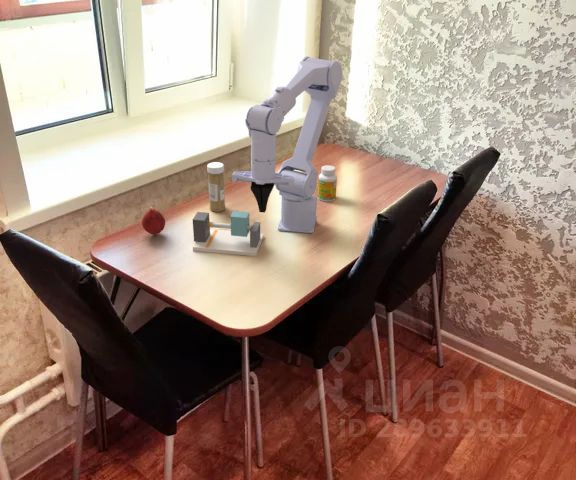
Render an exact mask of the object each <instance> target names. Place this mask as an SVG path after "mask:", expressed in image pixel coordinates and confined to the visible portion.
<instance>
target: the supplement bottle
mask: <svg viewBox="0 0 576 480" xmlns="http://www.w3.org/2000/svg"><path fill="white" fill-rule="evenodd" d="M320 168H321V170H320V172H321V173H319V174H318V179H317V181H318V182H317V200H319V201H320V202H326V203H329V202H333V201H335V200H336V195H337V185H338V184H337V183H338V175H336V167H335V166H333V165H326V164H325V165H322V166H321V167H320Z"/></svg>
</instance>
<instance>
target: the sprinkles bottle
mask: <svg viewBox="0 0 576 480" xmlns="http://www.w3.org/2000/svg"><path fill="white" fill-rule="evenodd" d="M206 168H207V169H206V170H207V171H206V172H207V174H208V175H207V178H208V181H207V182H208V196H209V210H210V211H211V212H218V213H219V212H223V211H224V210H225V209H226V201H225V199H226V197H225V196H226V195H225V193H226V192H225V181H224V180H225V178H224V176H225V175H224V173H225V164H224V163H222V162H219V161H218V162H217V161H215V162H210V163H207V166H206Z"/></svg>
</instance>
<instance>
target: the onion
mask: <svg viewBox="0 0 576 480" xmlns="http://www.w3.org/2000/svg"><path fill="white" fill-rule="evenodd" d="M141 225H142V228H143V230H144V231H145V232H147V233H148V234H150V235H152V236H157V235H158V234H160V233H161V232H162V231H163V230H164V228H165V226H166V218H165V216H164V215H163V214H162V213H161V212H160V210H157V209H155V208H154V207H153V206H150V207H149V210H147V211H146V213H144V214H143V216H142V219H141Z"/></svg>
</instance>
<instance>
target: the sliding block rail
mask: <svg viewBox="0 0 576 480" xmlns="http://www.w3.org/2000/svg"><path fill="white" fill-rule="evenodd" d="M215 228H216V229H215ZM192 229H193V230H192V231H193V242H195V243H194V244H193V246H192V251H194V252H203V253H205V252H206V253H214V254H216V253H217V254H225V255H239V256H246V257H247V256H248V257H257V255H258V253H259V251H260V248H261V245H262V243H263V241H264V237H265V235H264V233H261V222H260V221H253V223H252V225H249V226H247V230H248V231H249V233H248V235H247V237H241V236H231V223H223V222H222V223H221V222H213V221H210V212H205V211H204V212H203V211H197V212H196V213H195V215H194V216H193V218H192ZM223 229H224V230H223ZM225 229H228V230H225Z"/></svg>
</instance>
